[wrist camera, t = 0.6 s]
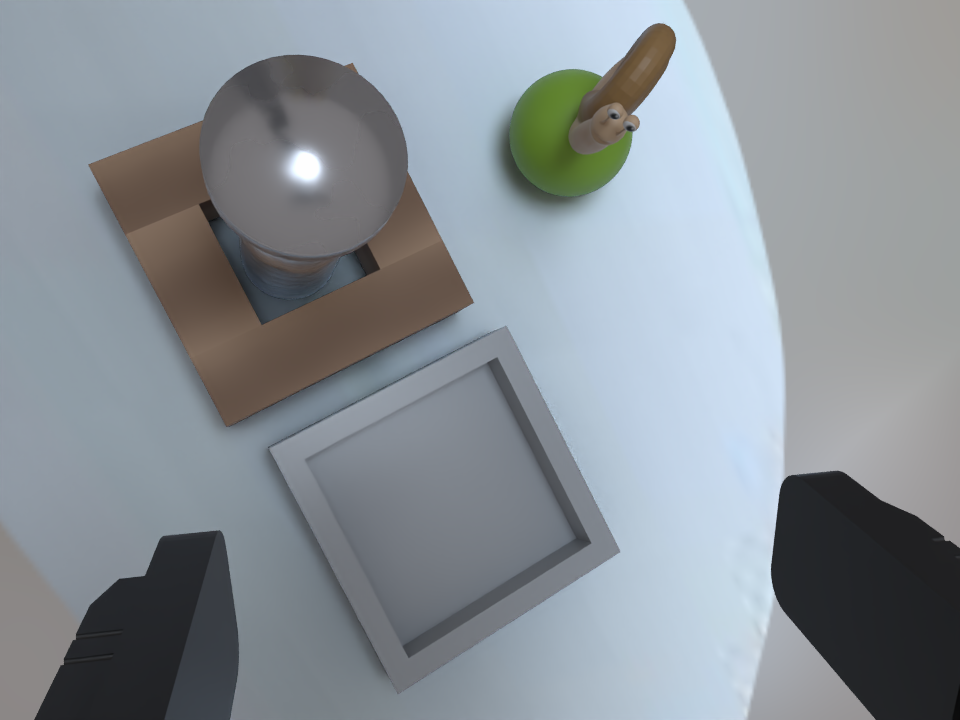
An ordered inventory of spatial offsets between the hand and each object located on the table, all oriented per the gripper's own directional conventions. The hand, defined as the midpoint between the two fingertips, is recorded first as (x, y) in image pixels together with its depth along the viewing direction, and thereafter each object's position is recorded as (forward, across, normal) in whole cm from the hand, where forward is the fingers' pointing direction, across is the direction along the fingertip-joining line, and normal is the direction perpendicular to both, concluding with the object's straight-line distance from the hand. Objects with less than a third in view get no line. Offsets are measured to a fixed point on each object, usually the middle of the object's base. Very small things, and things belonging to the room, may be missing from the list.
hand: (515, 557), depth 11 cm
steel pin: (+25, +5, 0) cm, 26 cm away
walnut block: (+25, +5, 0) cm, 26 cm away
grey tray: (+22, -1, +11) cm, 24 cm away
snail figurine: (+28, -7, -3) cm, 30 cm away
